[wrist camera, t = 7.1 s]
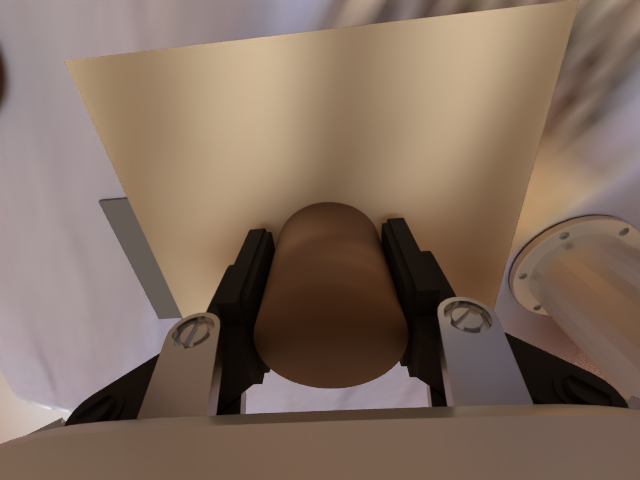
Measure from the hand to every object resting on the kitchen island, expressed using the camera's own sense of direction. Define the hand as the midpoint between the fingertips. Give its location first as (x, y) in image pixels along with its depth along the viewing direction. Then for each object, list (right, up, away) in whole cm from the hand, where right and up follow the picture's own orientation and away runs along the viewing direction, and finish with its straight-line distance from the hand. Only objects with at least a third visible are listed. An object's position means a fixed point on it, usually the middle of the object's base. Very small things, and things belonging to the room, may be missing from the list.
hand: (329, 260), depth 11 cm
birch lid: (0, +1, +1) cm, 1 cm away
